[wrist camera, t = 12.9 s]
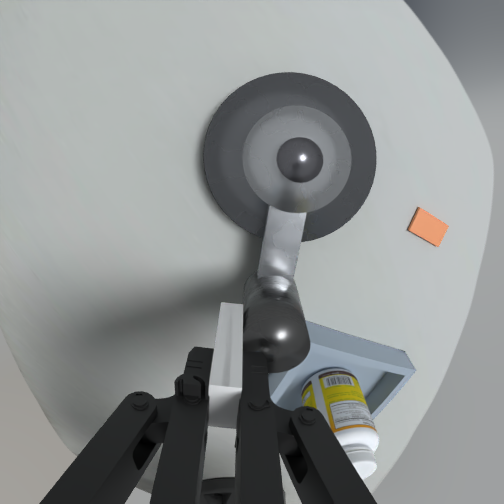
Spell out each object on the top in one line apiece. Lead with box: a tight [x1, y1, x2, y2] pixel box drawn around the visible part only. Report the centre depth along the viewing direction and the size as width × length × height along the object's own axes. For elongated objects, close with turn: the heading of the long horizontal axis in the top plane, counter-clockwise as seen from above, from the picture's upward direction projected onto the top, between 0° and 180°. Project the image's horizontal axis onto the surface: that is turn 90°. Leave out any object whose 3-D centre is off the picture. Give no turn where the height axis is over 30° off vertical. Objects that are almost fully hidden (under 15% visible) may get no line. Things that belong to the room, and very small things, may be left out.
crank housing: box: [204, 72, 376, 242], centre depth 19 cm, size 11×11×2 cm
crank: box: [243, 105, 351, 373], centre depth 16 cm, size 14×6×6 cm, turn 172°
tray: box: [268, 321, 416, 419], centre depth 25 cm, size 12×12×3 cm
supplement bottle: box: [301, 368, 379, 480], centre depth 21 cm, size 6×6×10 cm
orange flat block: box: [408, 207, 449, 247], centre depth 21 cm, size 2×4×1 cm, turn 68°
